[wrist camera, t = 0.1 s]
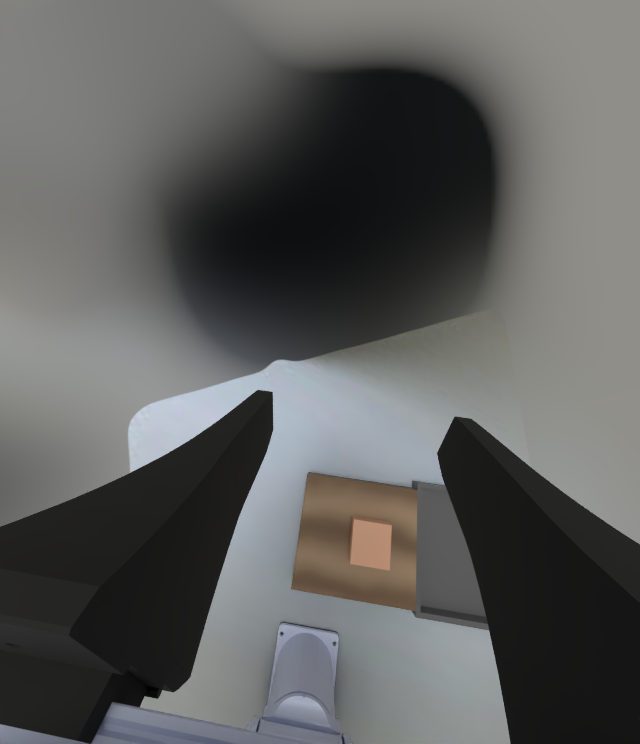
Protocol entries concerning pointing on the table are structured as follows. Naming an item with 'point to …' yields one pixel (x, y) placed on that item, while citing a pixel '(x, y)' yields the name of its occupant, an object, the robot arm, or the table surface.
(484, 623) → the tray
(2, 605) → the robot arm
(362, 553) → the tile
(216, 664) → the table surface
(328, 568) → the platform
